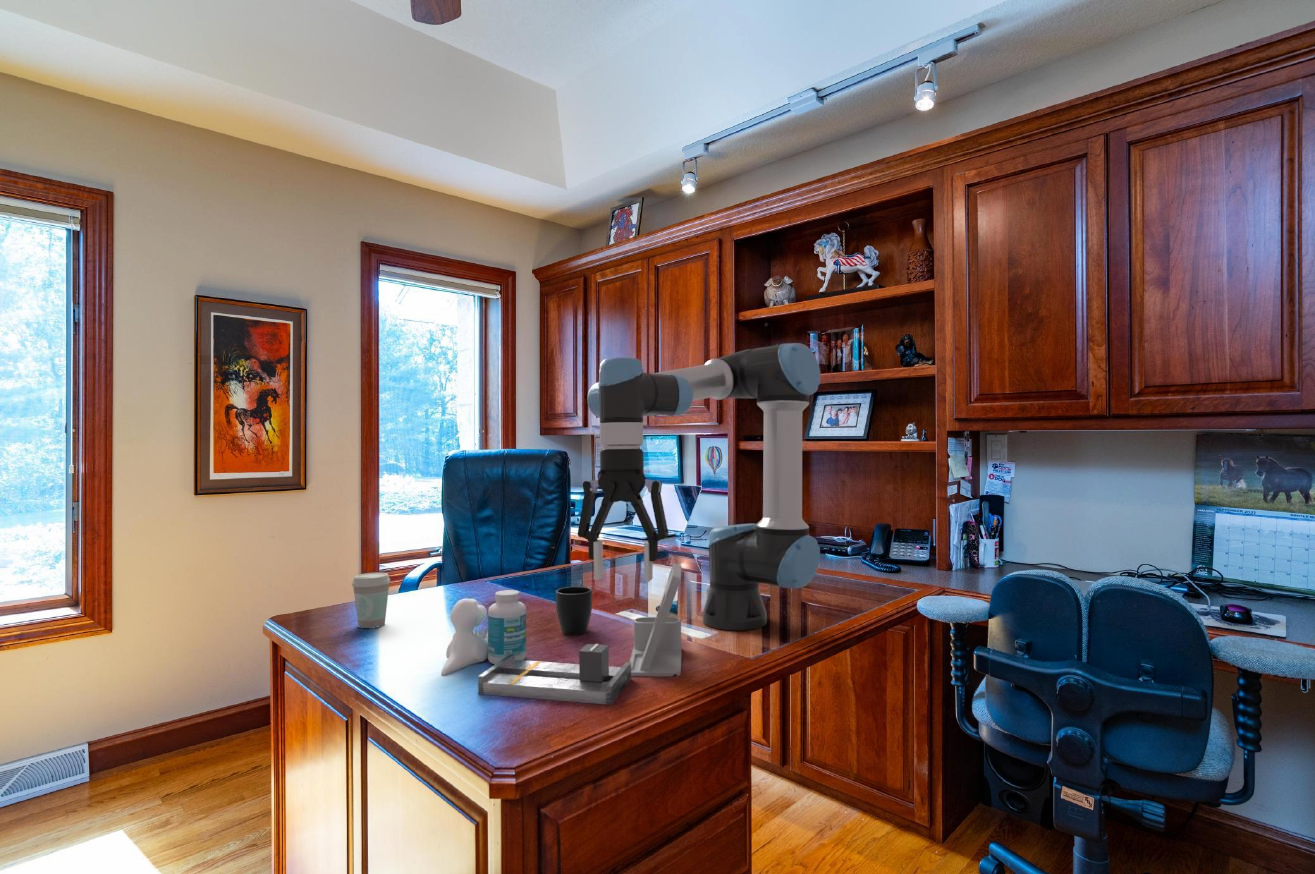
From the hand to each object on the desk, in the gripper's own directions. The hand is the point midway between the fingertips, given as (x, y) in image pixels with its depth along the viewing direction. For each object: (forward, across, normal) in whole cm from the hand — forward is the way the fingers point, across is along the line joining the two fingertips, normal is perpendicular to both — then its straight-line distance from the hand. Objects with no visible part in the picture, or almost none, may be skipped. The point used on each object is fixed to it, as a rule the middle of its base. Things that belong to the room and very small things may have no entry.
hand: (623, 579), depth 111 cm
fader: (+18, +6, 0) cm, 19 cm away
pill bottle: (+20, +28, -11) cm, 35 cm away
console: (+19, +12, 0) cm, 23 cm away
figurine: (+20, +36, -10) cm, 42 cm away
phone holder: (+20, -2, -17) cm, 26 cm away
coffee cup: (+20, +72, -28) cm, 79 cm away
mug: (+20, +22, -34) cm, 45 cm away
